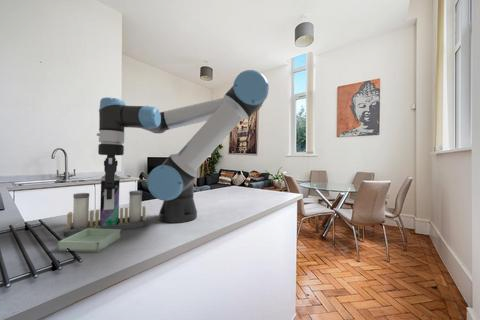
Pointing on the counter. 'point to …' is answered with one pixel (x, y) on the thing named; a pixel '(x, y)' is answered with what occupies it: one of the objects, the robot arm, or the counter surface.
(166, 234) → the counter surface
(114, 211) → the spray can
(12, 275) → the counter surface
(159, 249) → the counter surface
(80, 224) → the fuse
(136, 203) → the fuse
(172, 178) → the robot arm
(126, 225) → the fuse frame
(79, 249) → the tray
